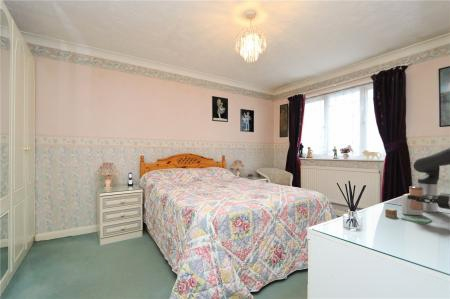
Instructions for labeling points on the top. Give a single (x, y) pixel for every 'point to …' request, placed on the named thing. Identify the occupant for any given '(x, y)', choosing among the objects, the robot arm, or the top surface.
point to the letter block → (391, 213)
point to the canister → (413, 203)
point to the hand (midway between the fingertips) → (410, 196)
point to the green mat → (416, 219)
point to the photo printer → (408, 207)
